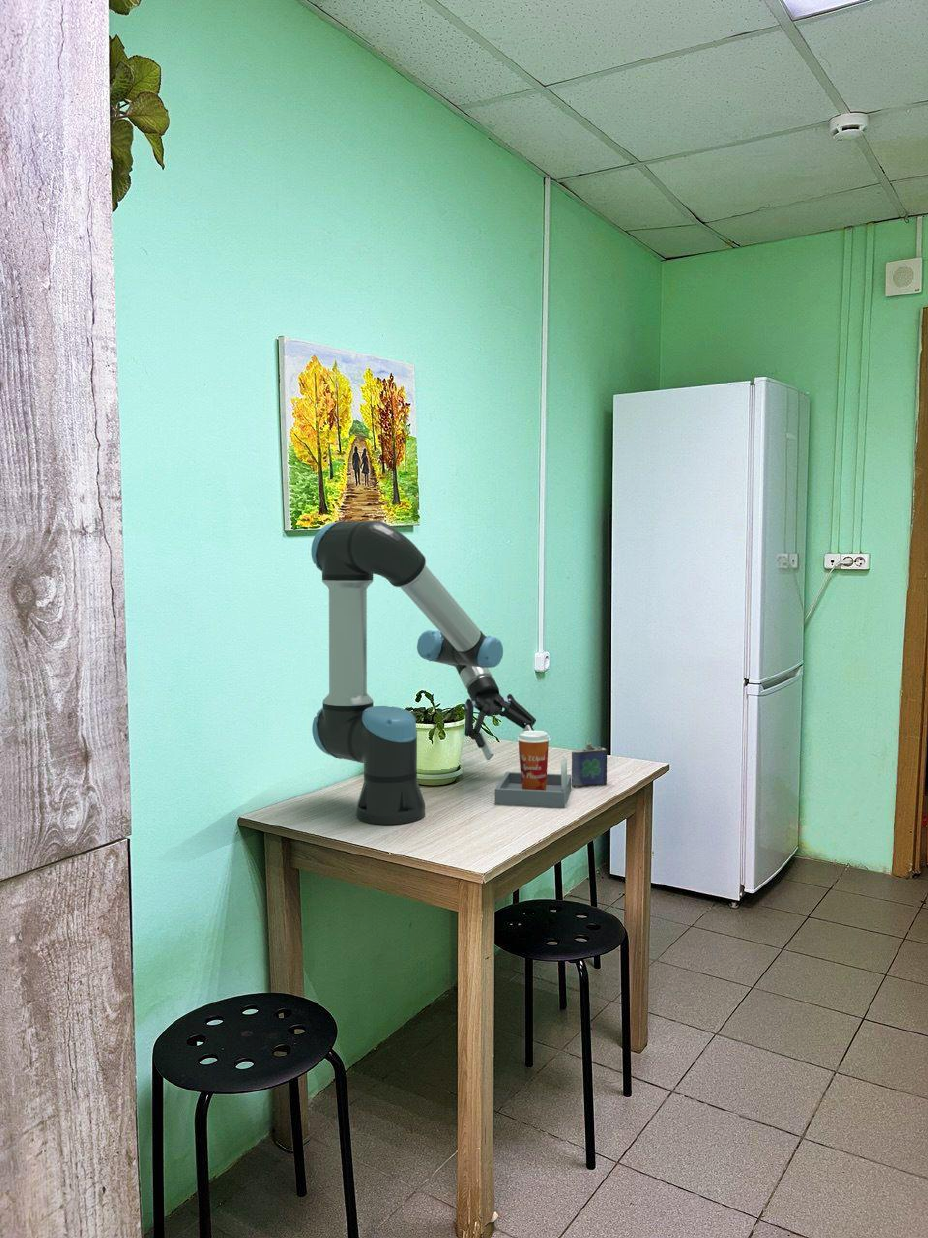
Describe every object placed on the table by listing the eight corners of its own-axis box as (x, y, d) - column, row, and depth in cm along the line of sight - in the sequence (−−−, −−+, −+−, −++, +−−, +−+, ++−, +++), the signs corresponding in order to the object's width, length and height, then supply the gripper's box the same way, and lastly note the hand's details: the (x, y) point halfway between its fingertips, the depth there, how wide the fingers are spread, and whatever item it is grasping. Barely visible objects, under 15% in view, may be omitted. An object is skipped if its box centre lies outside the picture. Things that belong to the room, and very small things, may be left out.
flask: (573, 788, 222) (573, 745, 221) (569, 785, 225) (569, 742, 224) (609, 785, 224) (609, 742, 223) (604, 782, 227) (604, 740, 226)
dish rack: (494, 804, 209) (494, 761, 208) (506, 785, 225) (505, 745, 224) (564, 808, 206) (564, 764, 205) (571, 788, 221) (571, 748, 220)
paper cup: (514, 795, 213) (513, 735, 211) (521, 786, 220) (521, 729, 219) (547, 797, 210) (547, 737, 209) (553, 789, 218) (553, 731, 217)
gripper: (513, 688, 242) (548, 755, 231) (432, 697, 229) (464, 769, 218) (525, 670, 237) (561, 738, 226) (443, 679, 224) (476, 751, 213)
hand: (514, 753), depth 222 cm, fingers open, 13 cm apart
